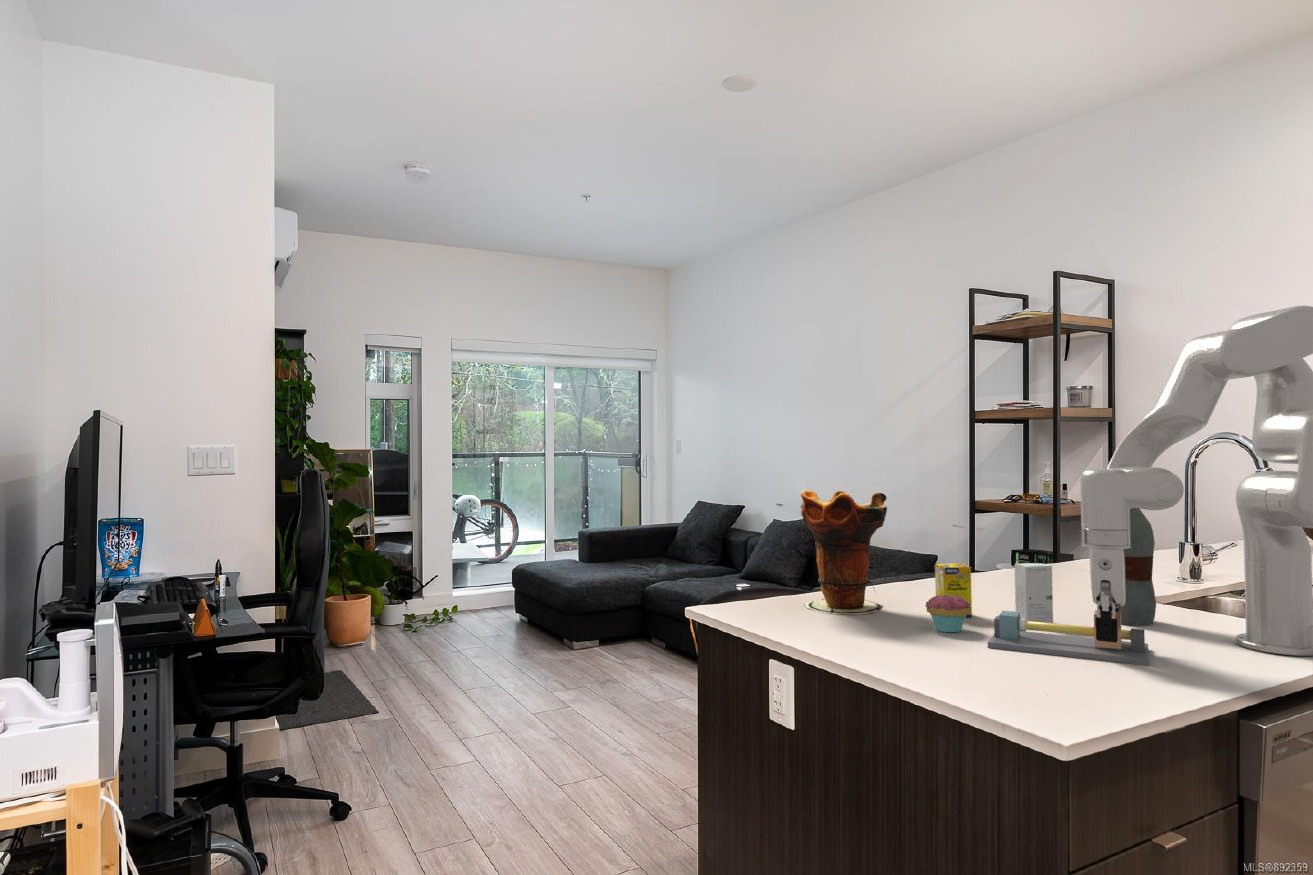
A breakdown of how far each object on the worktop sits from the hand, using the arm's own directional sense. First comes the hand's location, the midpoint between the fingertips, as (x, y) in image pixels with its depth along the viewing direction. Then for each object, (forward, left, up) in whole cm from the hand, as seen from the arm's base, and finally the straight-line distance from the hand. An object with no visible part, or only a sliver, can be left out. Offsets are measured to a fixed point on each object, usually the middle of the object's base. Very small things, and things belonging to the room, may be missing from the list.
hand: (1107, 635), depth 139 cm
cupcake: (+28, -5, -3) cm, 29 cm away
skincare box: (+14, -20, -3) cm, 25 cm away
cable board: (+6, 0, -3) cm, 7 cm away
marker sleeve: (0, 0, -2) cm, 2 cm away
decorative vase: (+54, -18, -3) cm, 57 cm away
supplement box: (+30, -20, -3) cm, 36 cm away
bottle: (-3, -30, -3) cm, 30 cm away
